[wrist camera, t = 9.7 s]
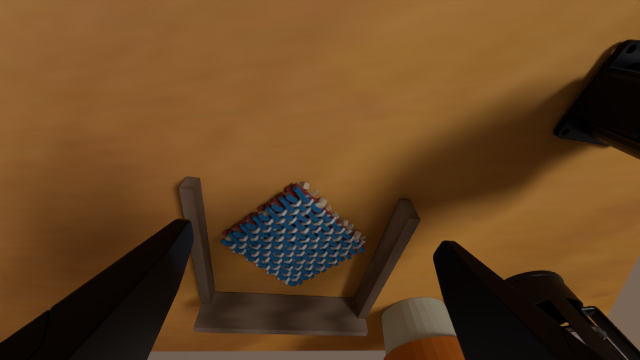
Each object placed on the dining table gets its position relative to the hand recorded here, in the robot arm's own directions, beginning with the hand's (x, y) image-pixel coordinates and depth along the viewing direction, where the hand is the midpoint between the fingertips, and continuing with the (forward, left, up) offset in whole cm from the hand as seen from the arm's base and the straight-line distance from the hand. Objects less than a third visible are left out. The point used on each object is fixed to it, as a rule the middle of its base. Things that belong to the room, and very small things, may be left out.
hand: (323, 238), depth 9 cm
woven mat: (0, +12, -11) cm, 17 cm away
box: (0, +14, -11) cm, 18 cm away
